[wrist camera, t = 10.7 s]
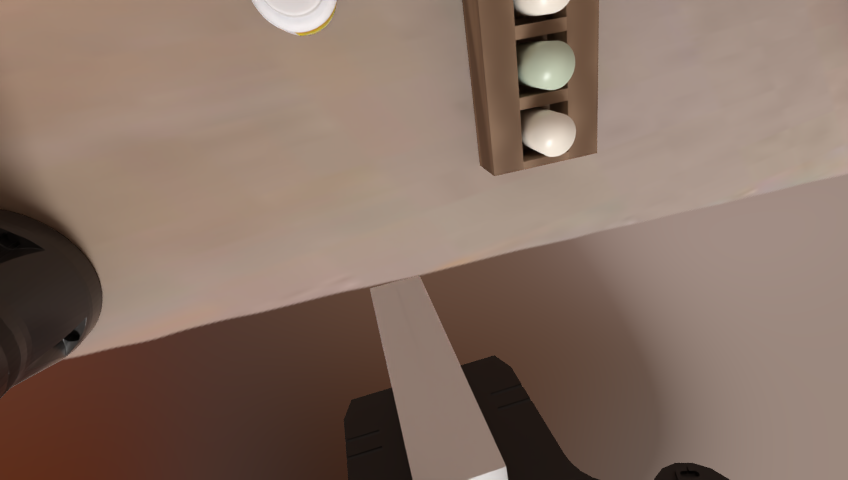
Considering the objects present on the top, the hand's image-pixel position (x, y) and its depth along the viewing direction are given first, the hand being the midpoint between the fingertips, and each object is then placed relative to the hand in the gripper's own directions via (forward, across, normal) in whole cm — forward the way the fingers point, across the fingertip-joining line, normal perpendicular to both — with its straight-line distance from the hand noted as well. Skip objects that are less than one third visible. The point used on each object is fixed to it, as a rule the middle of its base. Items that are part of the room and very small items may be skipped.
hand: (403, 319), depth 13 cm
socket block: (+28, +17, +3) cm, 33 cm away
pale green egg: (+27, +17, +3) cm, 32 cm away
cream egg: (+27, +17, -2) cm, 32 cm away
